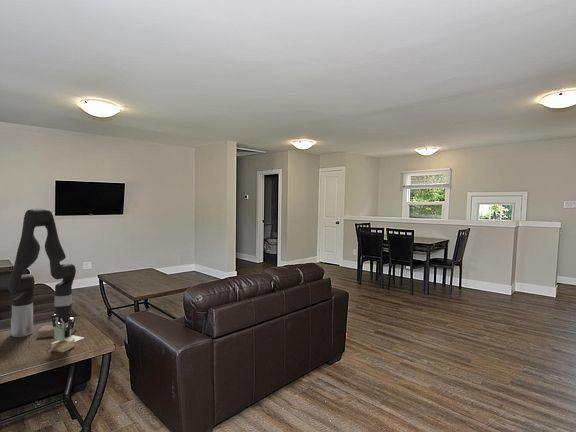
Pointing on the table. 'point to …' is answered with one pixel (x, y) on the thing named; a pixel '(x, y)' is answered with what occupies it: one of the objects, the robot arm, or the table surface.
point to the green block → (60, 333)
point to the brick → (50, 331)
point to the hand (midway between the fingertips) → (63, 336)
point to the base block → (62, 345)
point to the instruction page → (76, 338)
